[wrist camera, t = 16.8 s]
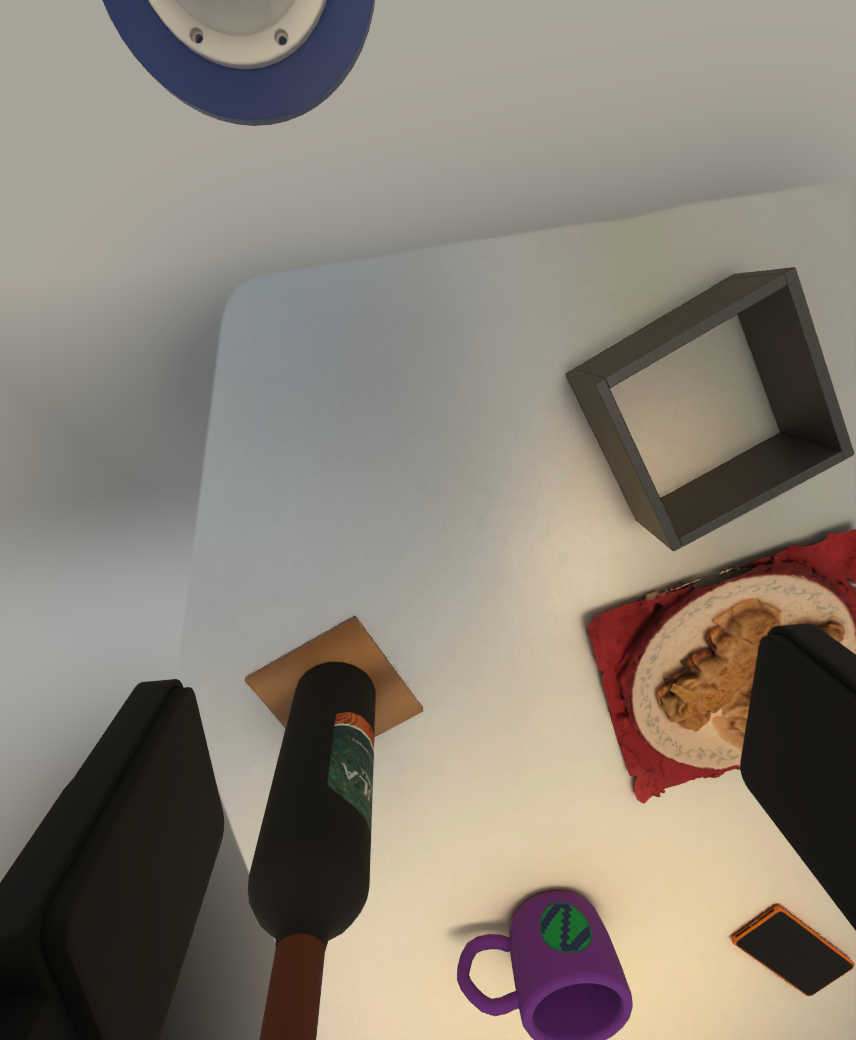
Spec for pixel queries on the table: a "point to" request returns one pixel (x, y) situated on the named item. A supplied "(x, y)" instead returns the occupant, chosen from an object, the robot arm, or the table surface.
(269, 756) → the table surface
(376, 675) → the cork mat
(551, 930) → the mug
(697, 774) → the plate with food
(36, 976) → the robot arm
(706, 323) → the grey square tray frame
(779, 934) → the smartphone
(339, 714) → the wine bottle
